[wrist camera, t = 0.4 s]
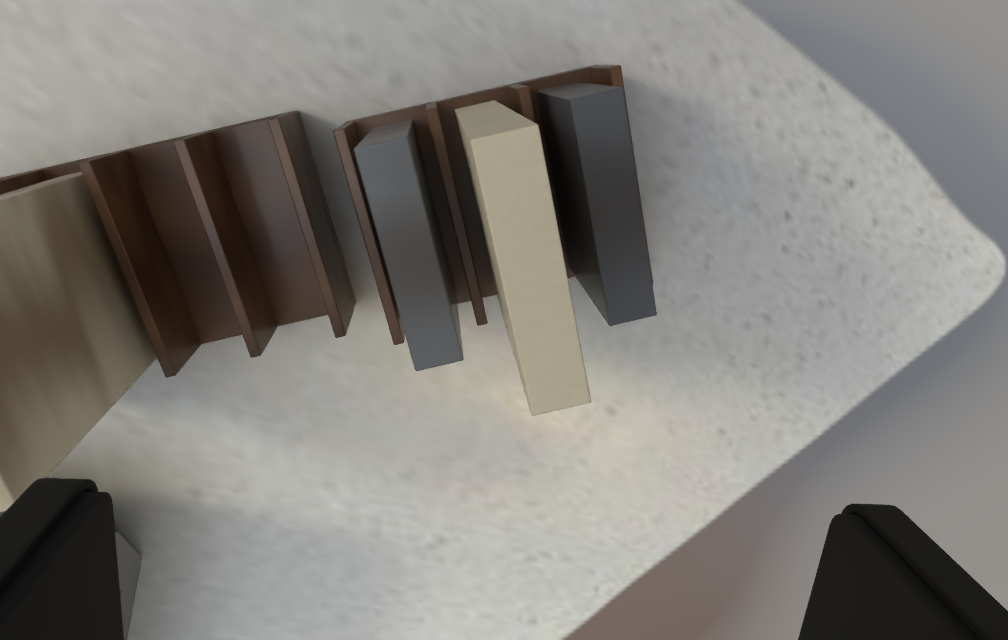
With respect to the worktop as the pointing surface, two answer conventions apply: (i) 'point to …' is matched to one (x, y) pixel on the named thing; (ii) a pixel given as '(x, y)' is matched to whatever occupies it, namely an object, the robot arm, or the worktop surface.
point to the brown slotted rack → (453, 214)
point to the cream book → (524, 252)
